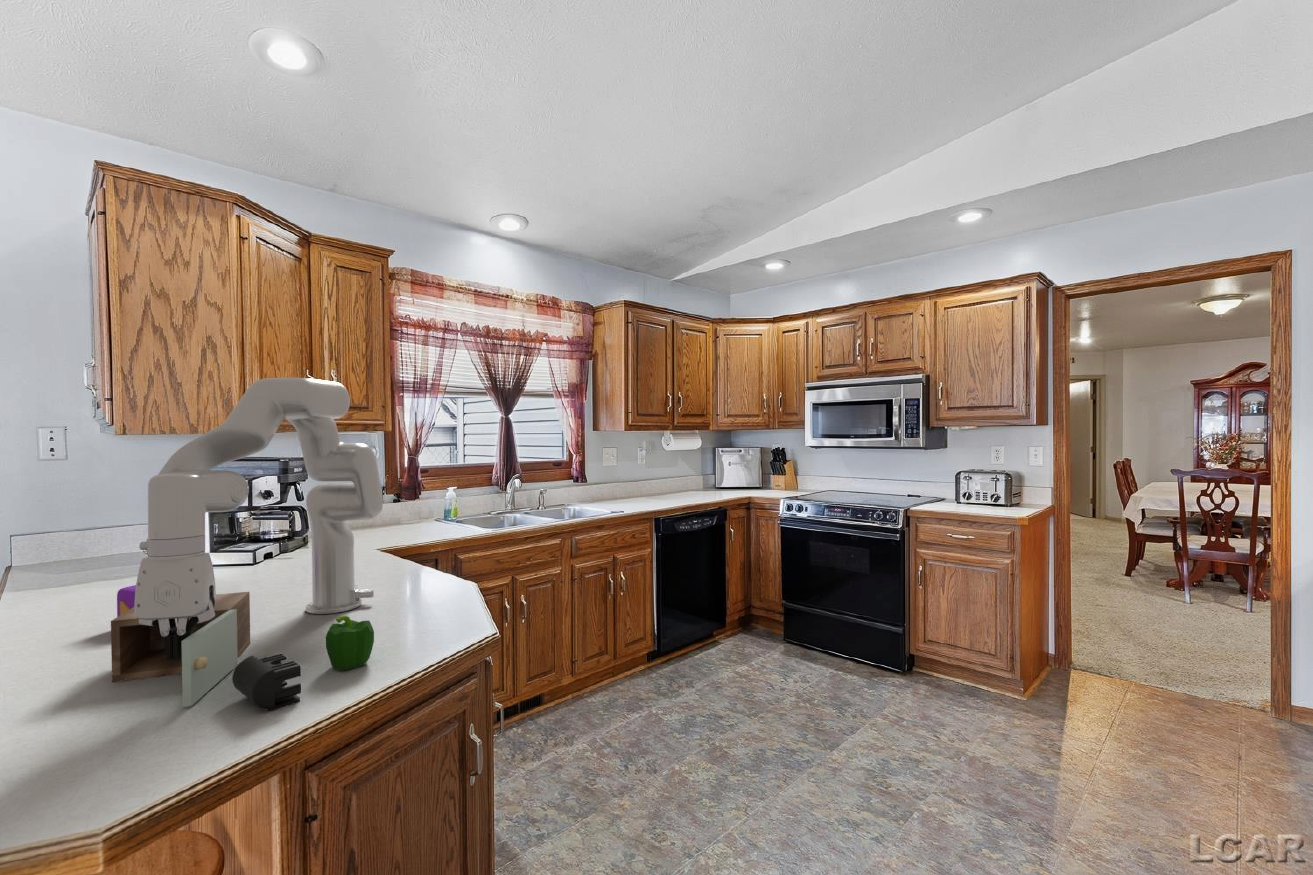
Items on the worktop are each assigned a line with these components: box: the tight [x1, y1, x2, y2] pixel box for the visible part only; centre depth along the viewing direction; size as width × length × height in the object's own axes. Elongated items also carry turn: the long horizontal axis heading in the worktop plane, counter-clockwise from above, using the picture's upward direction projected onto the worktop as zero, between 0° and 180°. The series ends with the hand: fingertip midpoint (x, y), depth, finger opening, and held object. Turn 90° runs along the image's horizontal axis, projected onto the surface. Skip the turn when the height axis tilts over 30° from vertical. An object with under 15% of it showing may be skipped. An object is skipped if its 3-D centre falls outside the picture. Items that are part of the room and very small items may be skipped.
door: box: [181, 609, 239, 708], centre depth 107 cm, size 18×2×11 cm, turn 15°
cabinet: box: [110, 591, 251, 683], centre depth 119 cm, size 18×14×11 cm
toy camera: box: [116, 584, 136, 618], centre depth 141 cm, size 11×14×10 cm
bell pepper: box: [325, 615, 375, 671], centre depth 115 cm, size 8×8×10 cm
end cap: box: [231, 653, 302, 712], centre depth 100 cm, size 10×7×7 cm
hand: (177, 657), depth 101 cm, fingers closed
